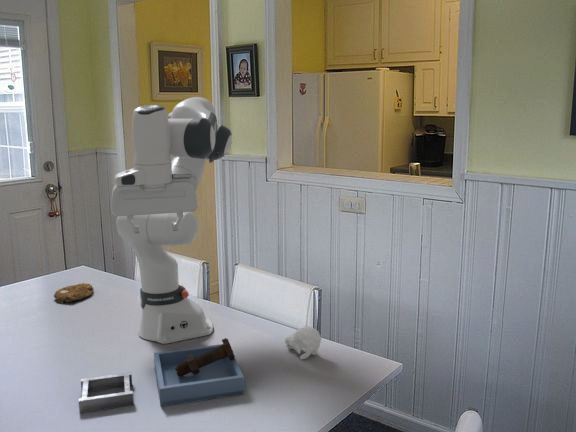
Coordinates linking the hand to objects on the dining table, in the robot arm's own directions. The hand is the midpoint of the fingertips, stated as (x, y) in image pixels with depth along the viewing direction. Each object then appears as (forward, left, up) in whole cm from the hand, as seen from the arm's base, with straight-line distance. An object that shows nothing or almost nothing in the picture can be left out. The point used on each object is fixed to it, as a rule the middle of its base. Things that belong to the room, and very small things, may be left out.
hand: (156, 231), depth 139 cm
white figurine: (-38, -4, -39) cm, 55 cm away
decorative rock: (+26, -72, -40) cm, 86 cm away
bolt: (-3, +2, -37) cm, 37 cm away
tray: (-8, +3, -39) cm, 40 cm away
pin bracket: (+14, +5, -39) cm, 42 cm away
